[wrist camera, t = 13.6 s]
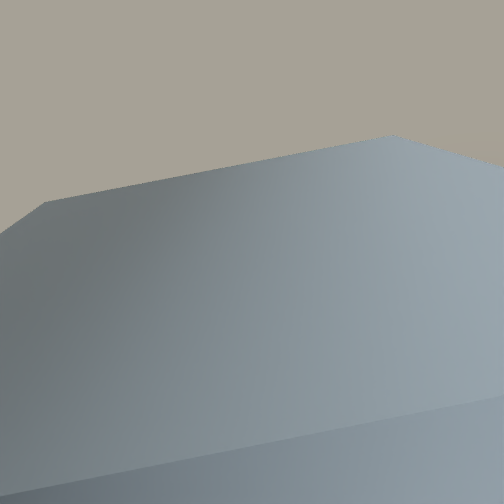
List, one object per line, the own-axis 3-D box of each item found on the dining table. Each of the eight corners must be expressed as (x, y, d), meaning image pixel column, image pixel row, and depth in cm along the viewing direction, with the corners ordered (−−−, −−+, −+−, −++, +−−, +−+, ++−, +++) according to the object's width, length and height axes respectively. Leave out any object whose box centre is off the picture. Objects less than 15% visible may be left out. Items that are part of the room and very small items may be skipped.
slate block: (166, 530, 14) (44, 202, 10) (410, 480, 14) (392, 135, 10) (110, 1053, 6) (-522, 600, 2) (637, 939, 6) (966, 301, 2)
